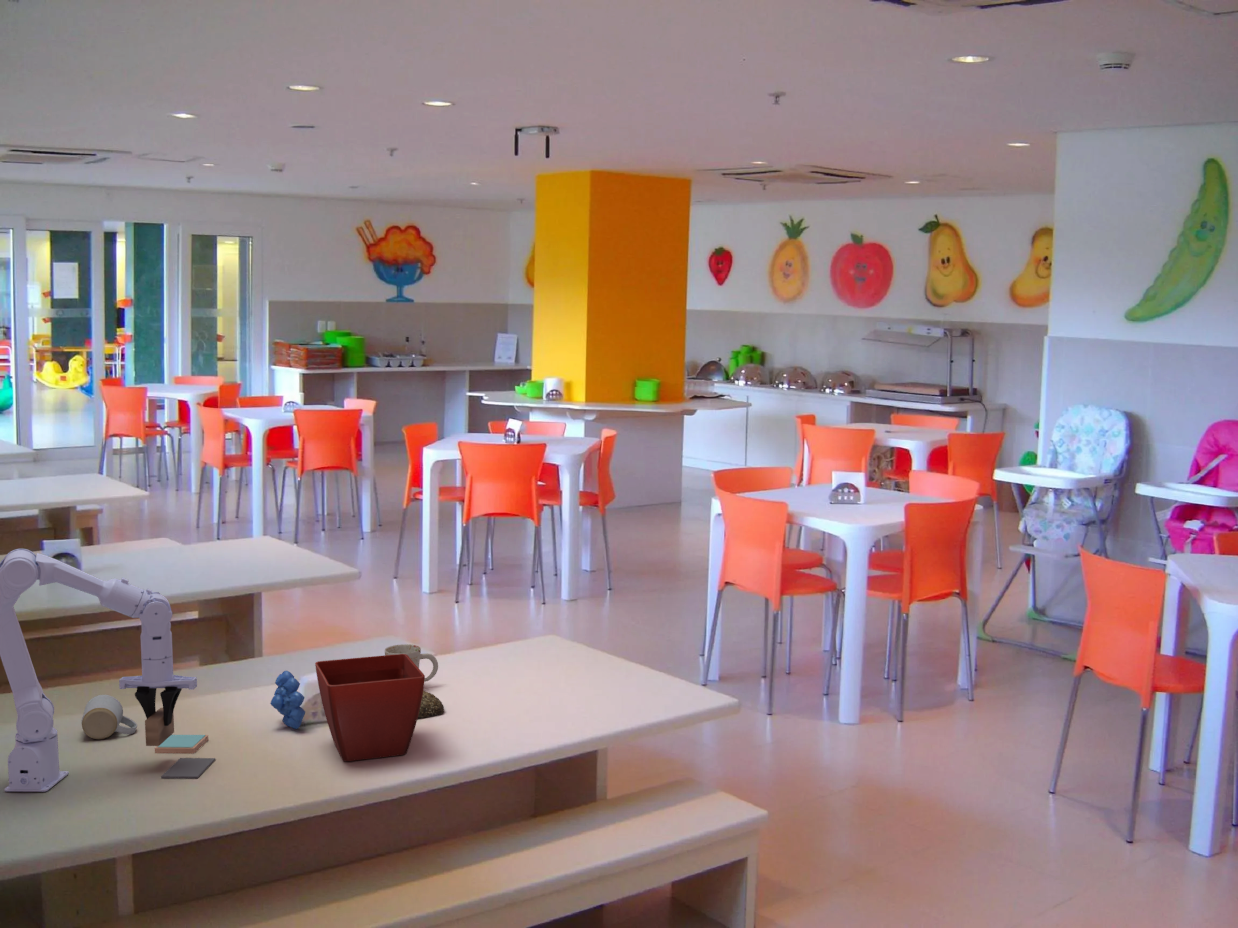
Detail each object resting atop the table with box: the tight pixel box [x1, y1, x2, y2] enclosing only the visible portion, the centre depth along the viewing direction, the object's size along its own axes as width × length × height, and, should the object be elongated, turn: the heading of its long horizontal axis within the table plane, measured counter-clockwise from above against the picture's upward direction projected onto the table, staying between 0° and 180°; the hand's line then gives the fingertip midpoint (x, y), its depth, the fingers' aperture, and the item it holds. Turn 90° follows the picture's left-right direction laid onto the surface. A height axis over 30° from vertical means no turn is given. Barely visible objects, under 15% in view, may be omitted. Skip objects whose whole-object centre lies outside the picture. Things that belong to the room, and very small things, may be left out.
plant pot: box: [314, 654, 426, 762], centre depth 255 cm, size 19×19×17 cm
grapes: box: [269, 670, 306, 730], centre depth 269 cm, size 12×7×12 cm, turn 37°
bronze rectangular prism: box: [144, 707, 175, 747], centre depth 246 cm, size 8×2×5 cm, turn 179°
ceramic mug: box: [81, 694, 138, 740], centre depth 265 cm, size 11×8×8 cm
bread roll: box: [417, 690, 445, 720], centre depth 281 cm, size 13×12×5 cm
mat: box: [160, 757, 216, 780], centre depth 245 cm, size 10×7×1 cm
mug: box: [384, 643, 439, 683], centre depth 297 cm, size 8×13×10 cm, turn 115°
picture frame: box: [154, 734, 209, 755], centre depth 258 cm, size 2×8×8 cm
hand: (160, 724), depth 246 cm, fingers closed on bronze rectangular prism, 2 cm apart
